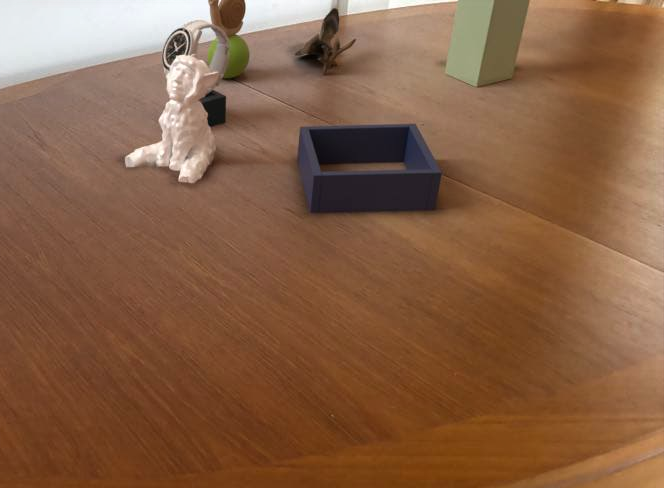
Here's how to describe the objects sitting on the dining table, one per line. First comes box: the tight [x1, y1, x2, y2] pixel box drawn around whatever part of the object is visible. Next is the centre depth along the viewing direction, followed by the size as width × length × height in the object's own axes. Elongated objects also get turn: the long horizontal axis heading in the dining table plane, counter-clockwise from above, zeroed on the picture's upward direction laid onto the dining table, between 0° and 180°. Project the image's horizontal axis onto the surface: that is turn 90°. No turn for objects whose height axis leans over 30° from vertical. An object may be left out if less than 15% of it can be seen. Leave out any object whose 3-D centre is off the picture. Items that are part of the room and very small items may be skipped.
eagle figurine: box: [294, 7, 357, 76], centre depth 117 cm, size 8×7×9 cm
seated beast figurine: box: [124, 55, 219, 184], centre depth 91 cm, size 10×9×12 cm
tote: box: [296, 123, 443, 214], centre depth 87 cm, size 12×12×5 cm
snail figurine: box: [207, 0, 250, 79], centre depth 113 cm, size 5×6×12 cm
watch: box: [161, 19, 230, 128], centre depth 102 cm, size 6×8×11 cm
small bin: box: [444, 0, 531, 88], centre depth 109 cm, size 6×6×12 cm
